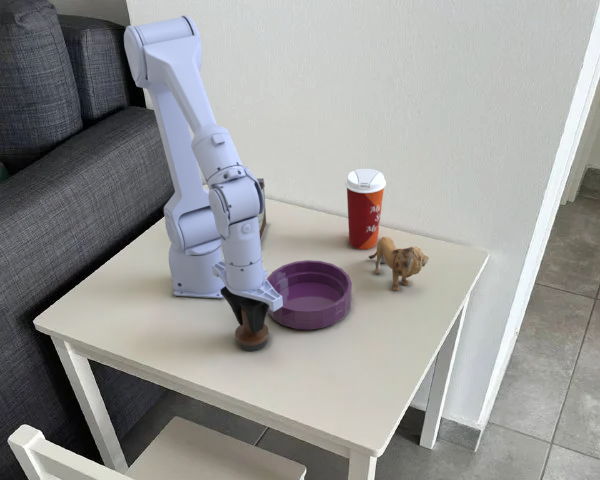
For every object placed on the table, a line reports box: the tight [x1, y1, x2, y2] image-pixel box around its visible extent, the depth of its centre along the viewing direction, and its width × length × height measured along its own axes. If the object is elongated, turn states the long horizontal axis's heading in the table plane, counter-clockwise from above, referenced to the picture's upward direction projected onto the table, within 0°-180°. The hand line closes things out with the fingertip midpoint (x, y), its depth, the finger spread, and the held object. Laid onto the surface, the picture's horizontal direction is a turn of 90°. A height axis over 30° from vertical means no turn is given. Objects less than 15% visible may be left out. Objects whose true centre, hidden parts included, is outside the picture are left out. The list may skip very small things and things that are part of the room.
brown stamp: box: [234, 307, 270, 352], centre depth 104 cm, size 6×6×7 cm
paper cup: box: [344, 168, 387, 250], centre depth 122 cm, size 8×8×14 cm
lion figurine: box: [368, 236, 430, 292], centre depth 115 cm, size 15×5×9 cm, turn 33°
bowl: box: [266, 259, 353, 331], centre depth 111 cm, size 15×15×4 cm
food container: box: [256, 177, 267, 244], centre depth 126 cm, size 12×6×10 cm, turn 172°
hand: (251, 326), depth 104 cm, fingers closed on brown stamp, 2 cm apart
